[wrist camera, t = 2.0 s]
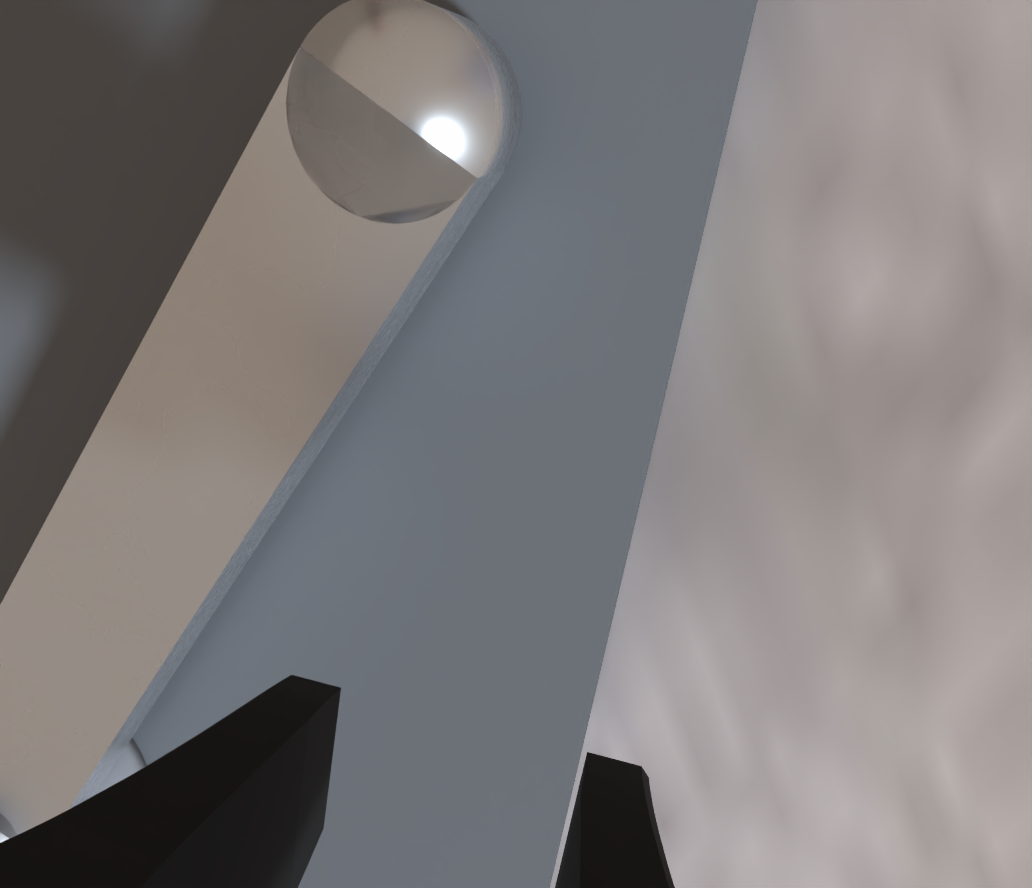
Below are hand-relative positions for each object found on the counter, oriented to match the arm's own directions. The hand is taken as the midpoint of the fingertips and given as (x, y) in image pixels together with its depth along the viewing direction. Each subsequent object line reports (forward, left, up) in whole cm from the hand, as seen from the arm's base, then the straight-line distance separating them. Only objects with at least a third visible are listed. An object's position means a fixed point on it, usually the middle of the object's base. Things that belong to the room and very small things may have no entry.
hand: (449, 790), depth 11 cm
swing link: (-1, +7, -7) cm, 10 cm away
